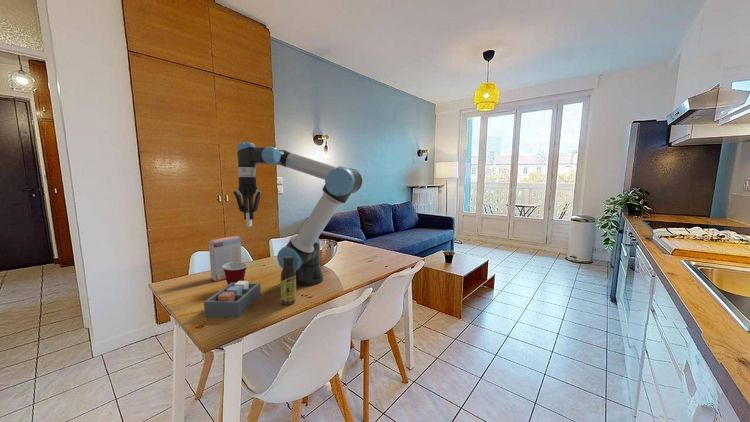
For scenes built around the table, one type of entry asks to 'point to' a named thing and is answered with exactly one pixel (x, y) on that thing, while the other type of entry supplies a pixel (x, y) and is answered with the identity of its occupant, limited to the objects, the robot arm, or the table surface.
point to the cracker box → (223, 255)
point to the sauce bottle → (288, 282)
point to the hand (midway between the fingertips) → (249, 226)
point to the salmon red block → (227, 296)
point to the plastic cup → (234, 271)
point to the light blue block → (235, 289)
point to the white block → (242, 284)
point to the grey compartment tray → (232, 302)
